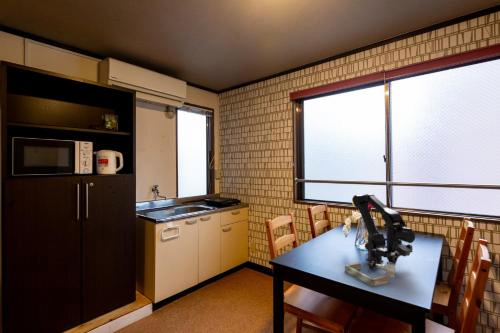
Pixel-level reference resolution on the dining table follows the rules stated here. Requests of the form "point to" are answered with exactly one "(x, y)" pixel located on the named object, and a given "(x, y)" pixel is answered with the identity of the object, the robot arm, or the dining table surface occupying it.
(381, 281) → the carrier nest
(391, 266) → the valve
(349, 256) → the dining table surface
